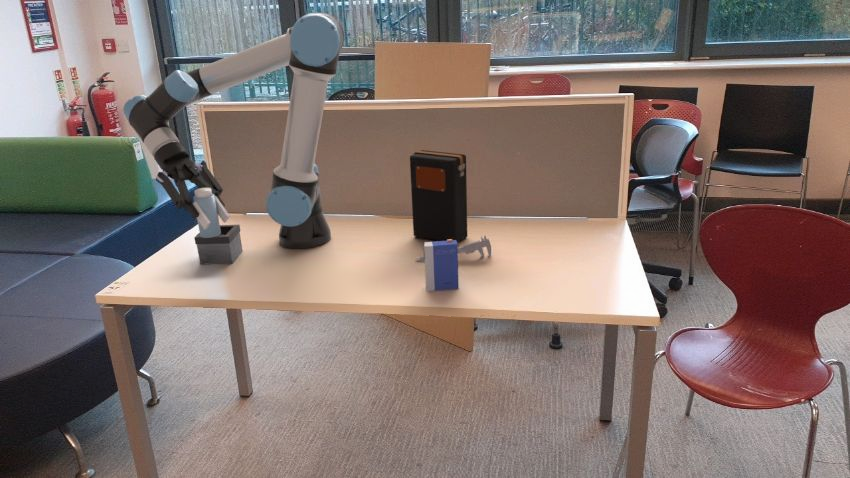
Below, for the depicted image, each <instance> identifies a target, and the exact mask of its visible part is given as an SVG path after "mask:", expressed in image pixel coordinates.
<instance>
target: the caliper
mask: <svg viewBox="0 0 850 478" xmlns="http://www.w3.org/2000/svg"><path fill="white" fill-rule="evenodd" d="M483 237H484V238H483ZM483 248H486V251H487V253H488V254H487V255H488V256H489V258H490V257H491V256H492V246H491V242H490V239H489V238H487V236H486V235H484V236H480V240H475V241H472V242H468V243H464V244H463V245H461V246H458V254H462V253H465V254H466V255H469V254H473V253H475V252H476V251H478V252H479V254H480V256H481V257H482V258H485V251H484V249H483ZM415 262H416V263H417V262H425V259H424V254H423V255H419V257H418V258H416V259H415Z"/></svg>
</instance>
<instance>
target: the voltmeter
mask: <svg viewBox="0 0 850 478" xmlns="http://www.w3.org/2000/svg"><path fill="white" fill-rule="evenodd" d="M409 167H410V168H409V169H410V187H411V188H410V189H411V209H412V210H411V211H412V228H413V229H412V230H413V232H412V233H413V236H414V237H416V238H422V239H426V240H431V241H435V242H436V241H447V239H452V240H456V241H457V243H459V242H460V241H462V240H463V239H467V238H468V201H467V200H468V197H467V194H468V193H467V182H468V181H467V156H466V154H462V153H456V152H455V153H453V152H445V151H444V152H443V151H436V150H435V151H434V150H425V149H421V150H417V151H414V152H413V154H411V155H409Z"/></svg>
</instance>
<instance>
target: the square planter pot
mask: <svg viewBox="0 0 850 478" xmlns="http://www.w3.org/2000/svg"><path fill="white" fill-rule="evenodd" d="M240 226H241V225H240V224H220V230H221V234H220V235H218V236H215V237H211V238H203V237H201V236H200V231H199V232H198V233H197V234H196V235H195V236H194V237H193V238H194V242H195V243H194V244H195V245H196V248H197V249H196V250H197V254H198V259H199V264H200V265H224V264H225V265H231V264H234V263H235V261H236V260H237V259H238V258H239V257H240V255H241V254H242V252H243V245H242V239H241V227H240Z"/></svg>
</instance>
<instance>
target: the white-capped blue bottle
mask: <svg viewBox="0 0 850 478" xmlns="http://www.w3.org/2000/svg"><path fill="white" fill-rule="evenodd" d="M192 200H193V202H197V204H198V205H199V207H200V208H201V209H202V211H203V212H204V214H205V215H206V217H207V218H208V220H209V221H210V222H211V223H210V225H209V226H208V228H207V229H204V228H203V227H202V225H201V224H200V222H199V221H198V219H197V218H196V220H197V227H198V230H199V232H200V236H201V237H203V238H211V237H215V236H218V235H220V234H221V230H220V225H221V224H220V218H219V215H218V212H217V207H216V201H215V195H214V194H212V190H211V188H200V189H199V188H197V189H195V190H194V196H193V199H192Z"/></svg>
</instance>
